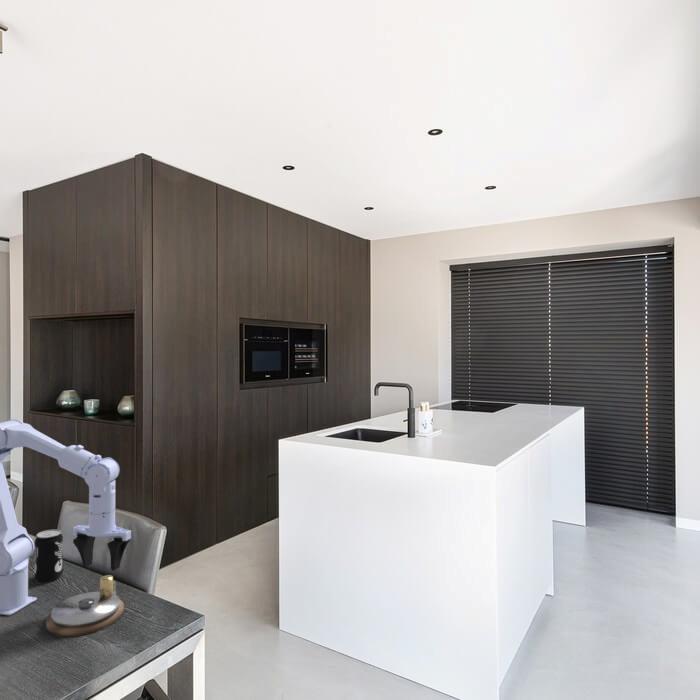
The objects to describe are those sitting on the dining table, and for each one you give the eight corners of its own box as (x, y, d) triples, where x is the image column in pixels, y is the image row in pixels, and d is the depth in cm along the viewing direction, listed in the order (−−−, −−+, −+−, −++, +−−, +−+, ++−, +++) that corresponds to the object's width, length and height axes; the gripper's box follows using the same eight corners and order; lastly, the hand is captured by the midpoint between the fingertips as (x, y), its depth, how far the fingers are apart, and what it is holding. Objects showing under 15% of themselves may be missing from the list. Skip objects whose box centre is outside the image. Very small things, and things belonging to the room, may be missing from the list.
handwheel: (76, 634, 110) (76, 607, 110) (37, 616, 117) (37, 591, 117) (132, 605, 123) (132, 581, 122) (94, 591, 129) (94, 568, 129)
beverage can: (49, 584, 136) (50, 538, 136) (28, 581, 137) (28, 536, 137) (68, 573, 142) (68, 529, 142) (47, 571, 143) (47, 528, 143)
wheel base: (28, 630, 114) (28, 612, 114) (85, 593, 131) (85, 577, 131) (91, 640, 110) (92, 621, 110) (142, 600, 127) (142, 584, 127)
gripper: (139, 508, 127) (138, 563, 127) (87, 503, 130) (87, 557, 130) (120, 517, 120) (119, 575, 120) (66, 512, 123) (66, 569, 123)
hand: (101, 567), depth 125 cm, fingers open, 7 cm apart
